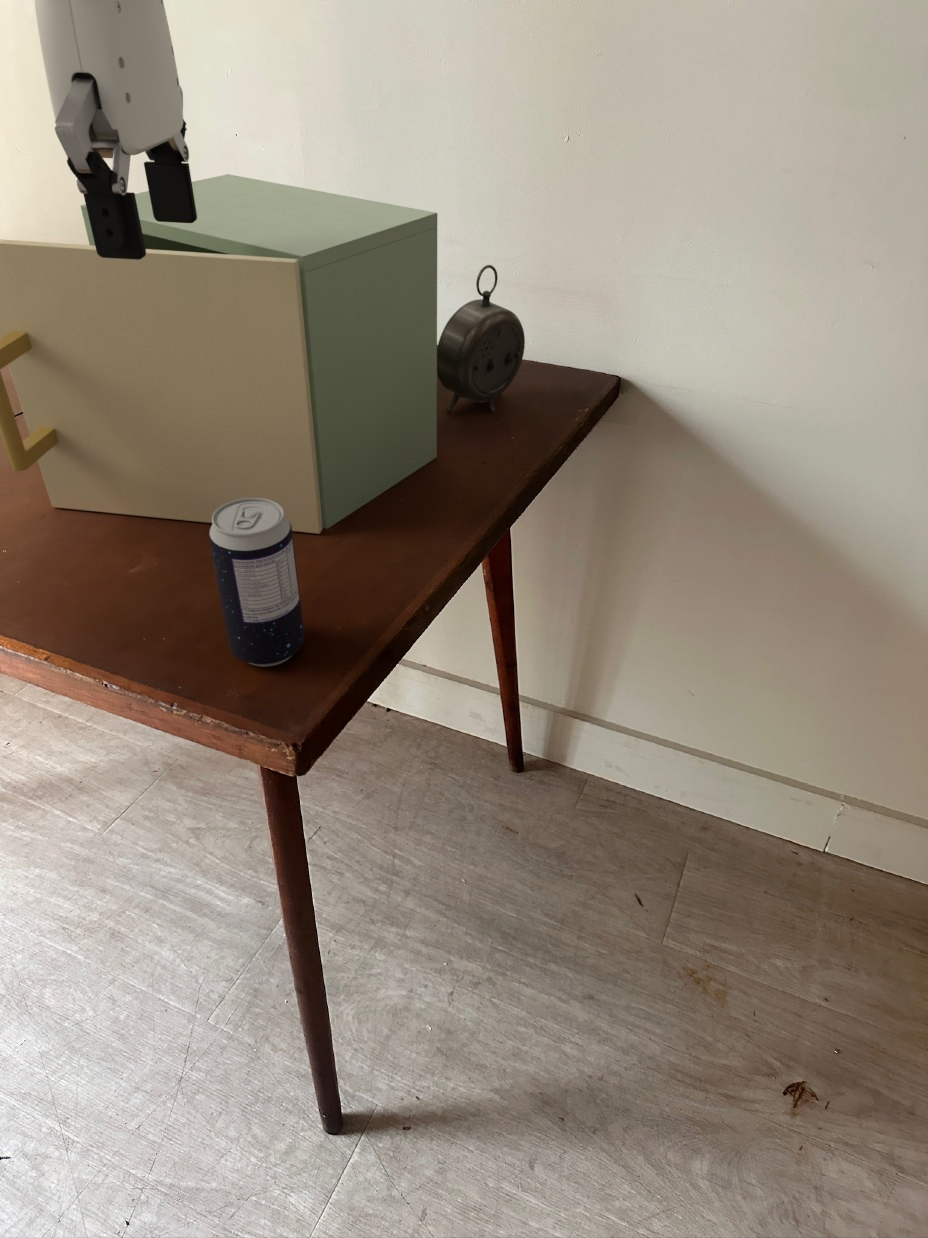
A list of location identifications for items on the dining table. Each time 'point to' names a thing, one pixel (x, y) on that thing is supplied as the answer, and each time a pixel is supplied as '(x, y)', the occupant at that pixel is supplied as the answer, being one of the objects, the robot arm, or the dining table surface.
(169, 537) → the dining table surface
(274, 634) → the beverage can
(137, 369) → the cupboard door
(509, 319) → the alarm clock
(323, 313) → the cupboard
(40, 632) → the dining table surface
